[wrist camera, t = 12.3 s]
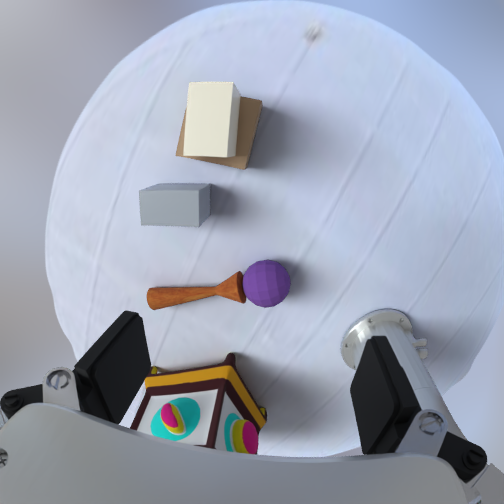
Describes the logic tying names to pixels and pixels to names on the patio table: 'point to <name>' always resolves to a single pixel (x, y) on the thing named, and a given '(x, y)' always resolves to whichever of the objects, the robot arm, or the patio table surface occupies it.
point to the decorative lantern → (202, 408)
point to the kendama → (232, 288)
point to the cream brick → (211, 119)
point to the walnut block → (245, 136)
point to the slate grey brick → (175, 204)
